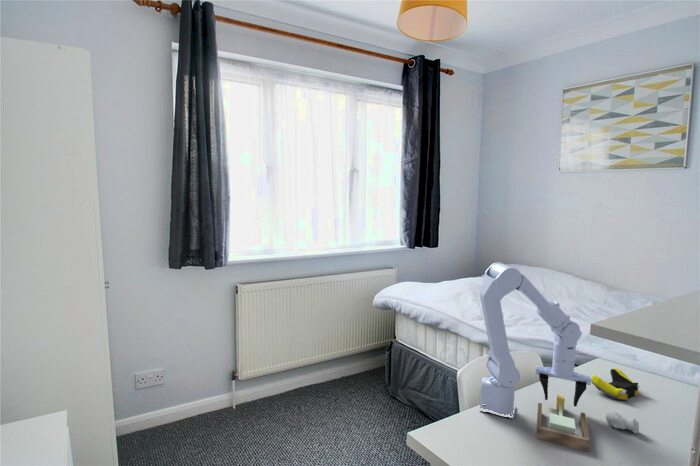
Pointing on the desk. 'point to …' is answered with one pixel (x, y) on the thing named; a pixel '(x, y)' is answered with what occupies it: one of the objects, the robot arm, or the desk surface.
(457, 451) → the desk surface
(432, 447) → the desk surface
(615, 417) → the smooth white sculpture
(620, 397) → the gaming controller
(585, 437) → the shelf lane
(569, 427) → the tethered block
